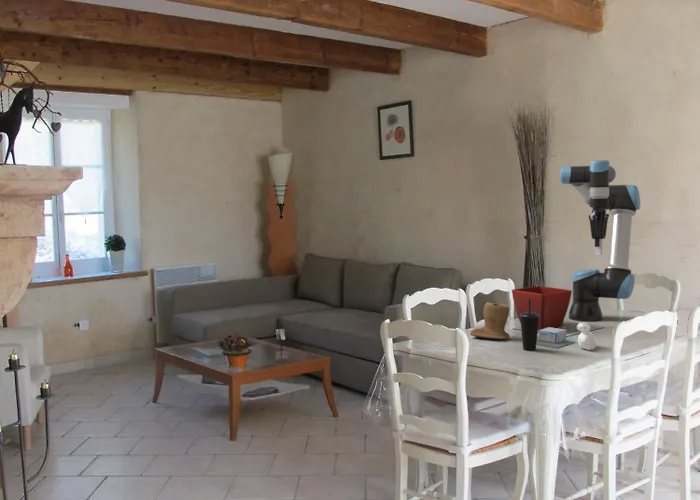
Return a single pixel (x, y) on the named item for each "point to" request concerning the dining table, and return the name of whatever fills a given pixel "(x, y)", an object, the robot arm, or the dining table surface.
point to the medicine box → (552, 335)
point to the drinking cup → (529, 329)
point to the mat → (553, 345)
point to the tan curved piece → (493, 322)
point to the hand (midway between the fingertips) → (598, 254)
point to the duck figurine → (586, 337)
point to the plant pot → (543, 304)
